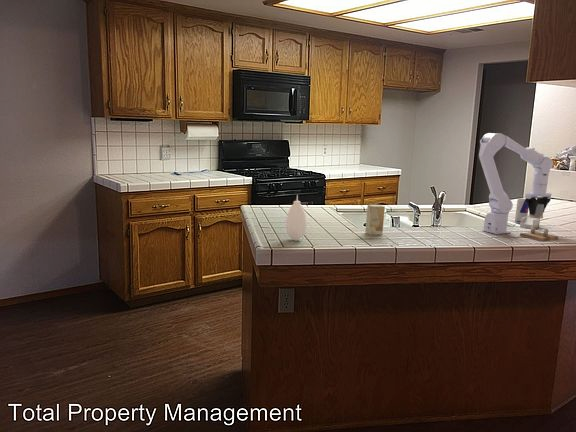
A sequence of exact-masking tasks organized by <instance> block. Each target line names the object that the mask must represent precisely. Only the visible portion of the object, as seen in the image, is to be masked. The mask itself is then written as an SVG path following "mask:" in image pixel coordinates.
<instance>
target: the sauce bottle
mask: <svg viewBox="0 0 576 432" xmlns="http://www.w3.org/2000/svg"><path fill="white" fill-rule="evenodd" d="M285 219H286V220H285V231H286V234H287V236H288V237H289V238H290V239H291V240H292V241H295V242H296V241H299V240H301V238H304V236H305V234H306V230H307V226H308V225H307V224H308V223H307V221H308V220H307V215H306V212H305V209H304V207H303V205H302V204H301V201H300V200H299V194H296V199H295V200H294V201H293V204H291V206H290V208H289V210H288V213H287V216H286V218H285Z"/></svg>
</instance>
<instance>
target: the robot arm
mask: <svg viewBox="0 0 576 432" xmlns="http://www.w3.org/2000/svg"><path fill="white" fill-rule="evenodd" d="M479 143H480V145H479V146H480V147H479V151H478V152H479V153H478V159H479V162H480V164H481V167H482V171H483V174H484V177H485V180H486V183H487V186H488V189H489V190H488V191H489V192H490V193H489V195H488V199H489V201H488V206H489V207H490V212H489V213H487V214H486V215H485V217H484V223H483V229H481V230H482V231H483V232H487V233H491V234H493V235H494V234H495V235H499V234H501V235H502V234H509V233H510V234H511V232H512V231H510V230H507V229H508V220H509V214H510V212H511V210H513V207H514V206H513V205H514V204H513V202H512V200H511V199H510V198H509V196H508V194H507V193H506V192H505V191H504V187H503V184H502V181H501V178H500V175H499V172H498V169H497V168H498V167H497V166H496V162H495V159H494V157H495V155H496V154H497V152H498V151H499V150H501V149H502V148H504V147H505V148H507V149H509V150H510V151H513V152H515V153H517V154H518V155H519V156H520V159H521V160H523V161H525V163H526V162H527V163H528V164H530V165H531V166H532V168H534V172H533V180H532V185H531V186H532V187H531V191H530V192H529V193H526V194H525V196H524V199H526V202H527V204H528V207H529V208H528V215H529V214H532V215H535V212H536V207H537V204H544V210H543V214H544V213H545V209H546V208H547V206H548V204H550V202H551V198H552V193H551V192H547V191H548V190H547V189H548V183H549V175H550V171H551V169H552V168H553V166H554V163H553V161H552V159H551V157H549V156H544V153H543V152H541V153H540V152H539V151H537V150H536V148H535V147H529V146H527V147H525V146H523V145H521V144H520V143H518V142H516V141H515V140H513V139H512V138H510V137H509V136H508V135H505V134H503V133H500V132H498V133H497V132H496V133H492V132H487V133H485V134H484V135H483V136H482V138H481V139H480V140H479Z"/></svg>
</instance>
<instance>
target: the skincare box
mask: <svg viewBox="0 0 576 432" xmlns="http://www.w3.org/2000/svg"><path fill="white" fill-rule="evenodd" d="M385 207H386V206H385V205H381V204H367V208H366V219H365V234H367V235H369V236H373V235H374V236H375V235H378V236H379V235H381V236H382V235H383V233H384V231H383V230H384V218H385Z"/></svg>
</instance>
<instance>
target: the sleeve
mask: <svg viewBox="0 0 576 432" xmlns="http://www.w3.org/2000/svg"><path fill="white" fill-rule="evenodd" d="M543 210H544V204H537V207H536V212H535V215H532V214H529V213H528V216H529V217H530V218H539V219H540V220H542V219H544V213H543ZM544 211H545V210H544Z"/></svg>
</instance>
